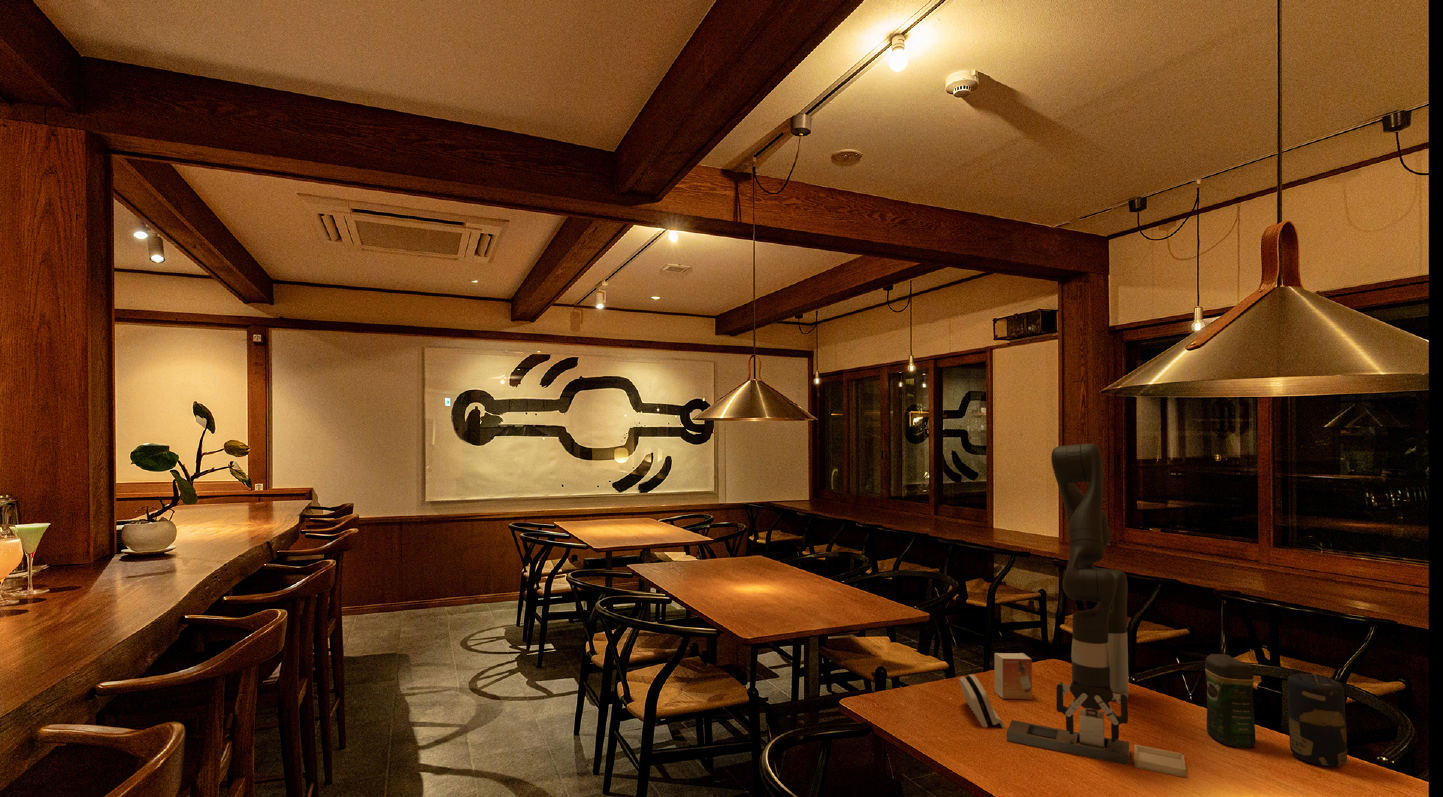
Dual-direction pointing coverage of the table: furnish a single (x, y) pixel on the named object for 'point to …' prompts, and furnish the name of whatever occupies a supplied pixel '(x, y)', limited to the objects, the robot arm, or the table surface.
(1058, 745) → the rack rail
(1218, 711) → the coffee jar
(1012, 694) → the small box
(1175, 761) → the parts tray
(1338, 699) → the canister
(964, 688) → the beige device enclosure
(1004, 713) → the table surface
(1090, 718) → the grey rectangular block
